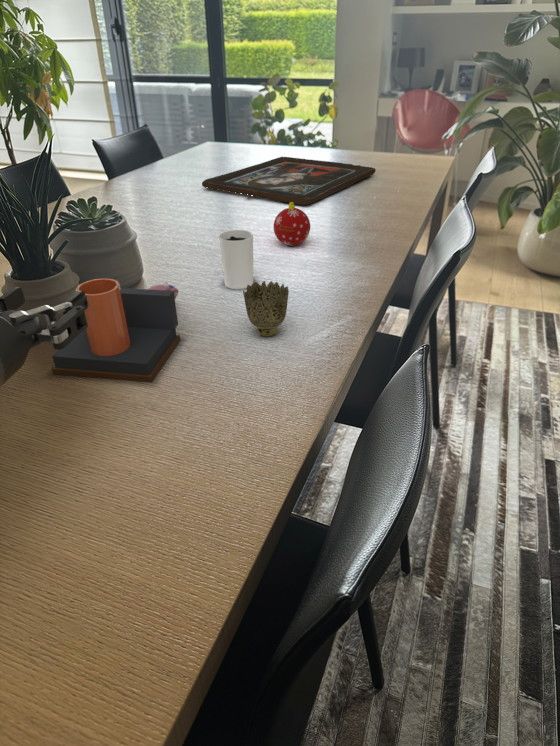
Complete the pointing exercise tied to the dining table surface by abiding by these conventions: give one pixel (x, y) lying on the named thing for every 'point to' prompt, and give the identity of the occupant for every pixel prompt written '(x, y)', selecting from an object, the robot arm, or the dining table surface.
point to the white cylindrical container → (237, 258)
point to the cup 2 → (266, 306)
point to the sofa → (147, 336)
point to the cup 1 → (105, 317)
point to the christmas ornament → (291, 226)
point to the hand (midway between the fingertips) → (51, 295)
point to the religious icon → (290, 179)
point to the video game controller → (165, 288)
